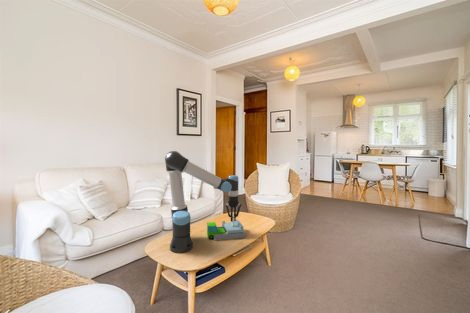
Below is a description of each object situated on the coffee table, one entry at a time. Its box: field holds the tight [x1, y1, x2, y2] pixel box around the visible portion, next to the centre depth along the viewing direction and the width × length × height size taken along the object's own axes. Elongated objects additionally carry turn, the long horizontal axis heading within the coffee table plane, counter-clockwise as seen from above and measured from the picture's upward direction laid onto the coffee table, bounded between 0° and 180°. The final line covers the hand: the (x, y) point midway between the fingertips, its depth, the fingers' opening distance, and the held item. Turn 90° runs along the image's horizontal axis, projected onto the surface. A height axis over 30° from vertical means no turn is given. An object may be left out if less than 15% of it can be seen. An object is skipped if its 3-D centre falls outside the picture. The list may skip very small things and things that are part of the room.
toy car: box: [206, 221, 227, 240], centre depth 171 cm, size 10×13×10 cm
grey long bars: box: [213, 225, 247, 241], centre depth 175 cm, size 24×16×4 cm
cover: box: [221, 219, 245, 233], centre depth 177 cm, size 13×19×8 cm
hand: (233, 225), depth 177 cm, fingers closed
